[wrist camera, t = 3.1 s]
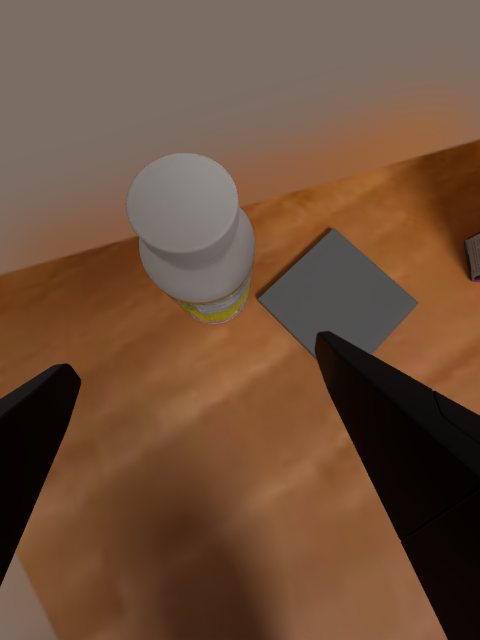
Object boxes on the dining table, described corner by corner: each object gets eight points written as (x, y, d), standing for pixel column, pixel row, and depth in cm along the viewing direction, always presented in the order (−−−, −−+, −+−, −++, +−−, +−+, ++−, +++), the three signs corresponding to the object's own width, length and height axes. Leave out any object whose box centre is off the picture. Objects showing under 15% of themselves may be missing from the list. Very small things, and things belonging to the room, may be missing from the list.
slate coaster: (340, 384, 20) (343, 384, 20) (257, 300, 21) (257, 299, 21) (414, 304, 22) (418, 302, 21) (331, 230, 23) (334, 227, 22)
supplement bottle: (173, 271, 22) (86, 152, 9) (236, 253, 22) (234, 114, 10) (191, 334, 21) (119, 295, 8) (257, 314, 21) (285, 246, 9)
